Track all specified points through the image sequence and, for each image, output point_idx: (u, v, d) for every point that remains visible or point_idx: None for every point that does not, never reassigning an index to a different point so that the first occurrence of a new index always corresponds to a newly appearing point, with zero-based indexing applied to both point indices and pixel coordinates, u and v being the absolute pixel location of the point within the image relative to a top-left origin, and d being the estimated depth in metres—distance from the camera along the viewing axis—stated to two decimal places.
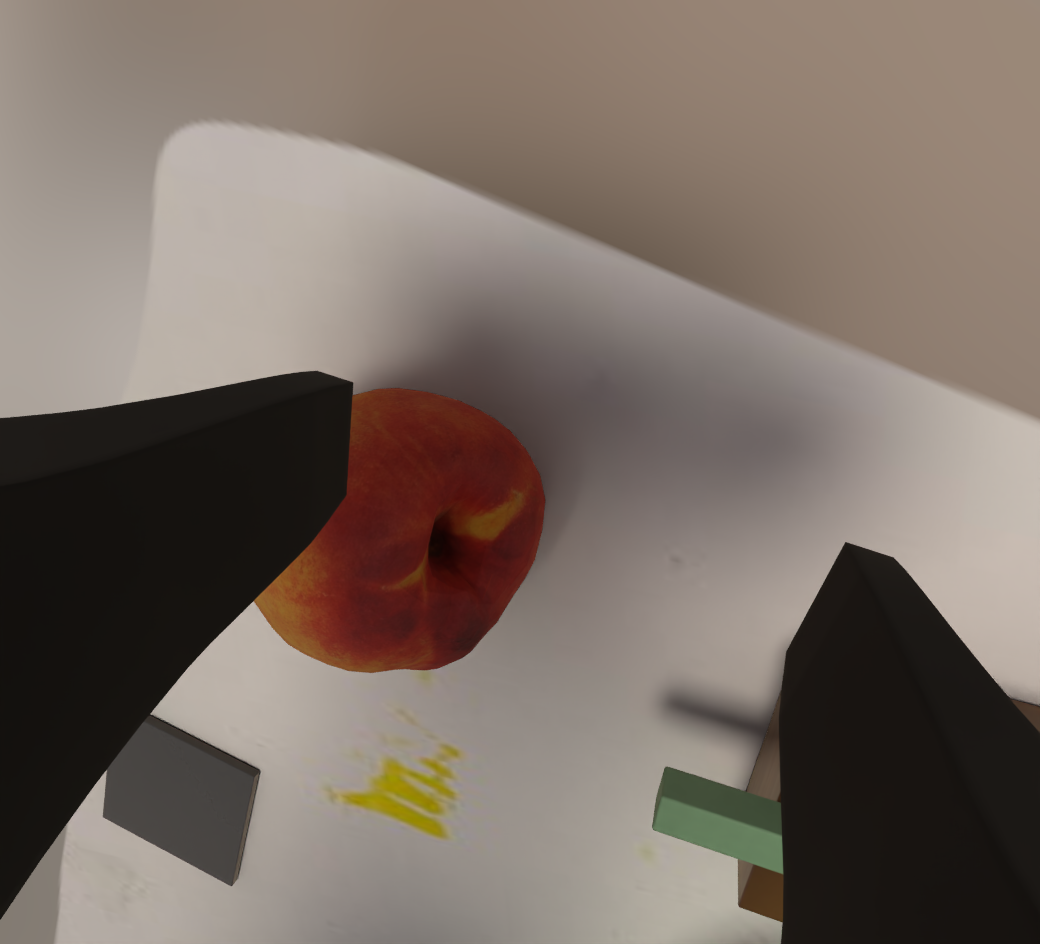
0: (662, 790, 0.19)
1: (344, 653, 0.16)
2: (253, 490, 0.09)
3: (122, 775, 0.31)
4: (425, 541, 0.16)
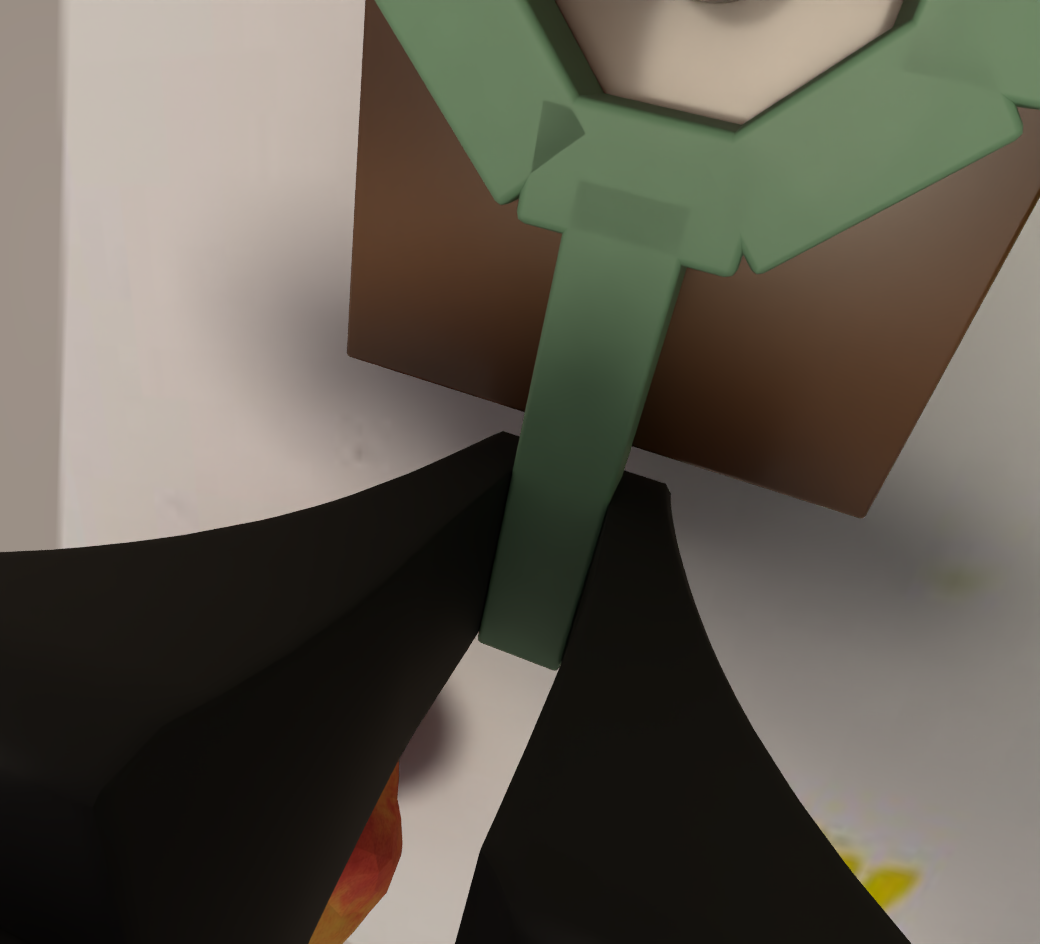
0: None
1: None
2: (470, 569, 0.08)
3: None
4: None
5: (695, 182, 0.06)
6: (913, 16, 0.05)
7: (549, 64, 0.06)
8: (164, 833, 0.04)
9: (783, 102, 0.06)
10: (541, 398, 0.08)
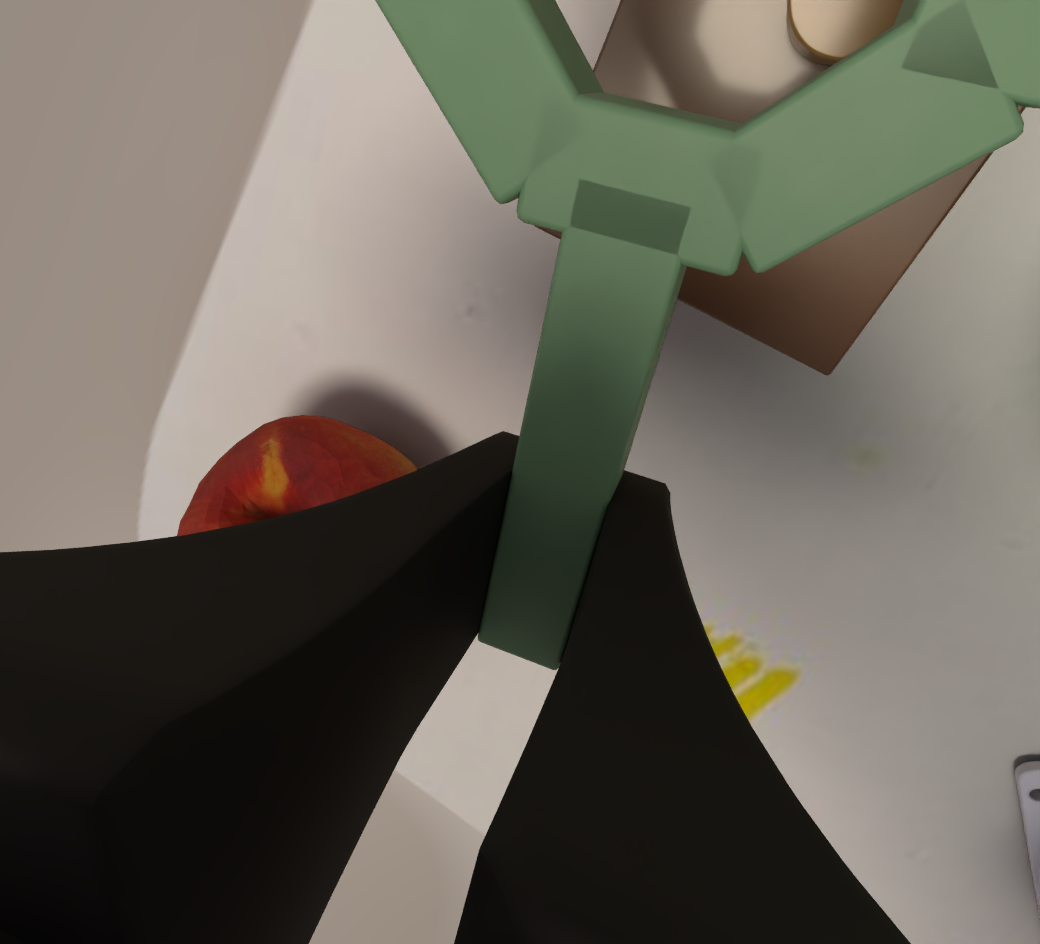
0: None
1: None
2: (471, 569, 0.08)
3: None
4: None
5: (695, 181, 0.06)
6: (913, 15, 0.05)
7: (549, 63, 0.06)
8: (166, 832, 0.04)
9: (783, 101, 0.06)
10: (542, 397, 0.08)
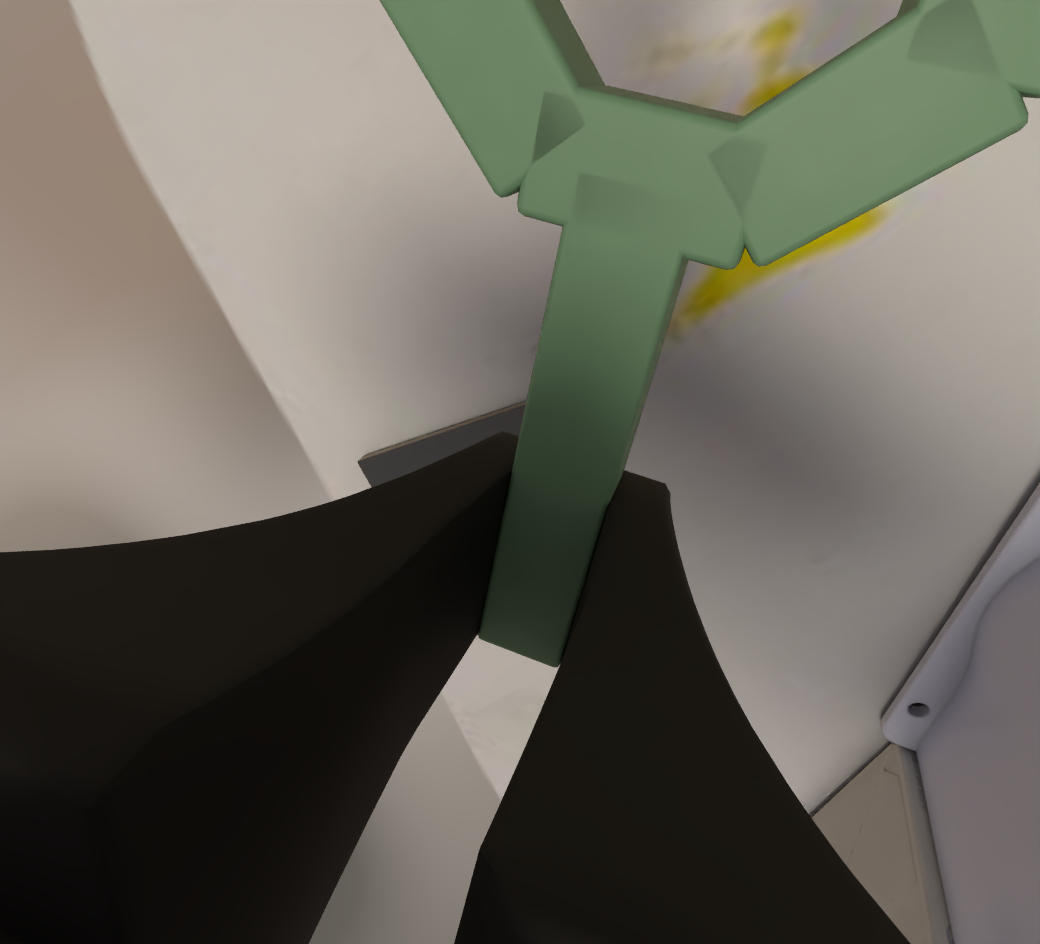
0: None
1: None
2: (471, 568, 0.08)
3: None
4: None
5: (697, 173, 0.06)
6: (917, 4, 0.05)
7: (549, 55, 0.06)
8: (166, 832, 0.04)
9: (785, 92, 0.06)
10: (542, 393, 0.08)
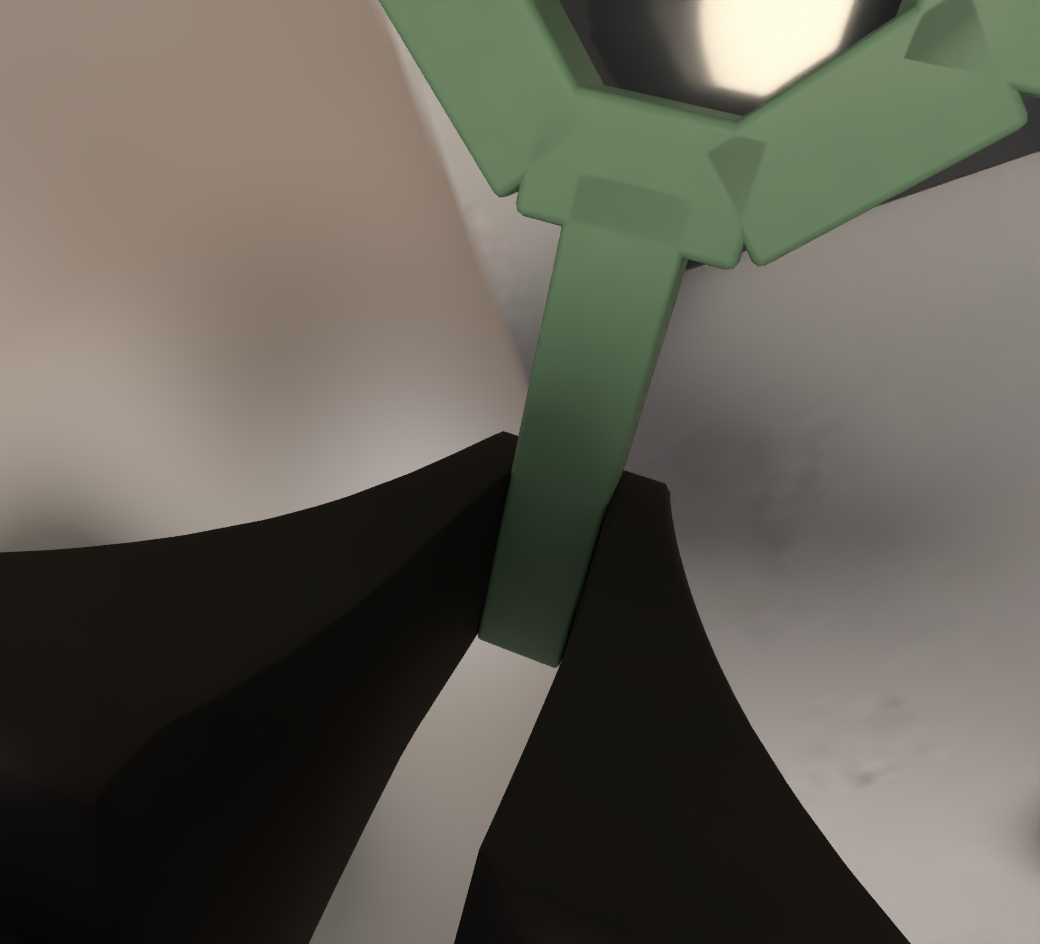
0: None
1: None
2: (471, 569, 0.08)
3: None
4: None
5: (696, 173, 0.06)
6: (916, 4, 0.05)
7: (548, 54, 0.06)
8: (165, 833, 0.04)
9: (785, 92, 0.06)
10: (541, 392, 0.08)
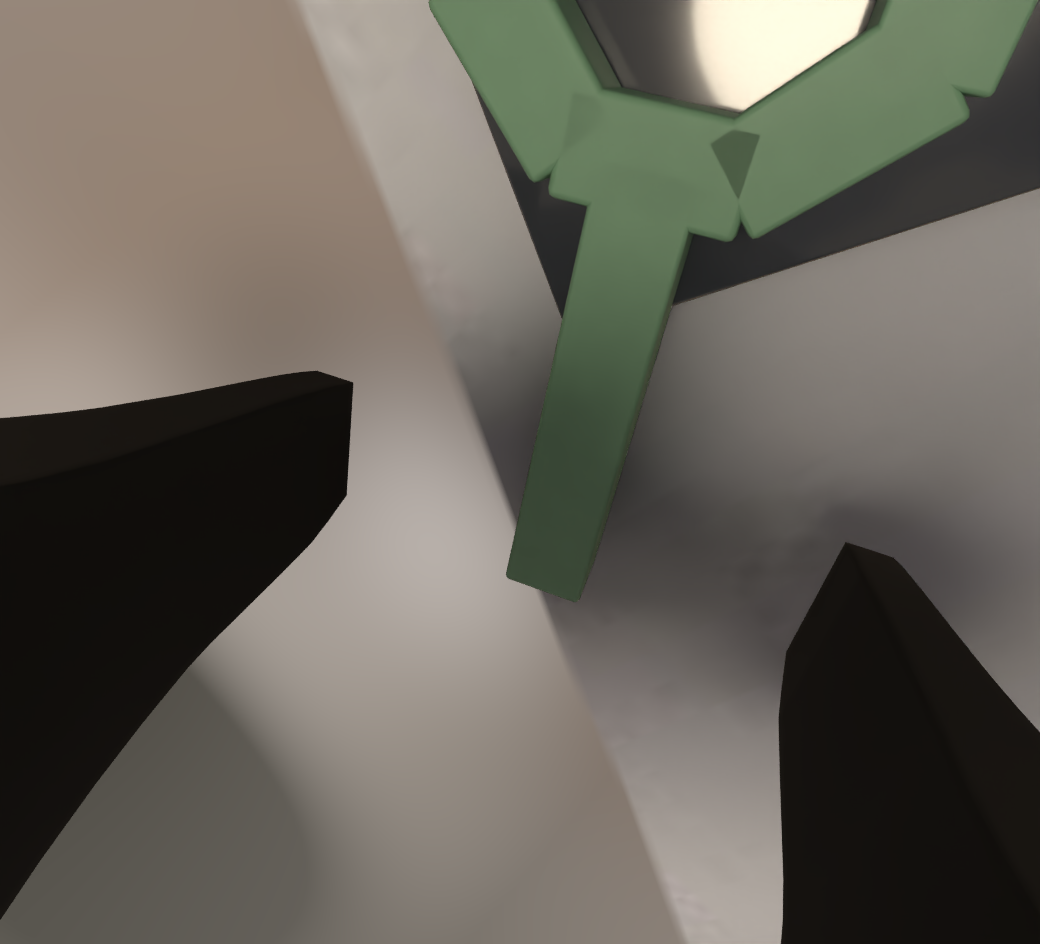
0: None
1: None
2: (252, 490, 0.09)
3: None
4: None
5: (701, 161, 0.07)
6: (878, 22, 0.07)
7: (578, 62, 0.07)
8: None
9: (774, 93, 0.07)
10: (567, 352, 0.09)
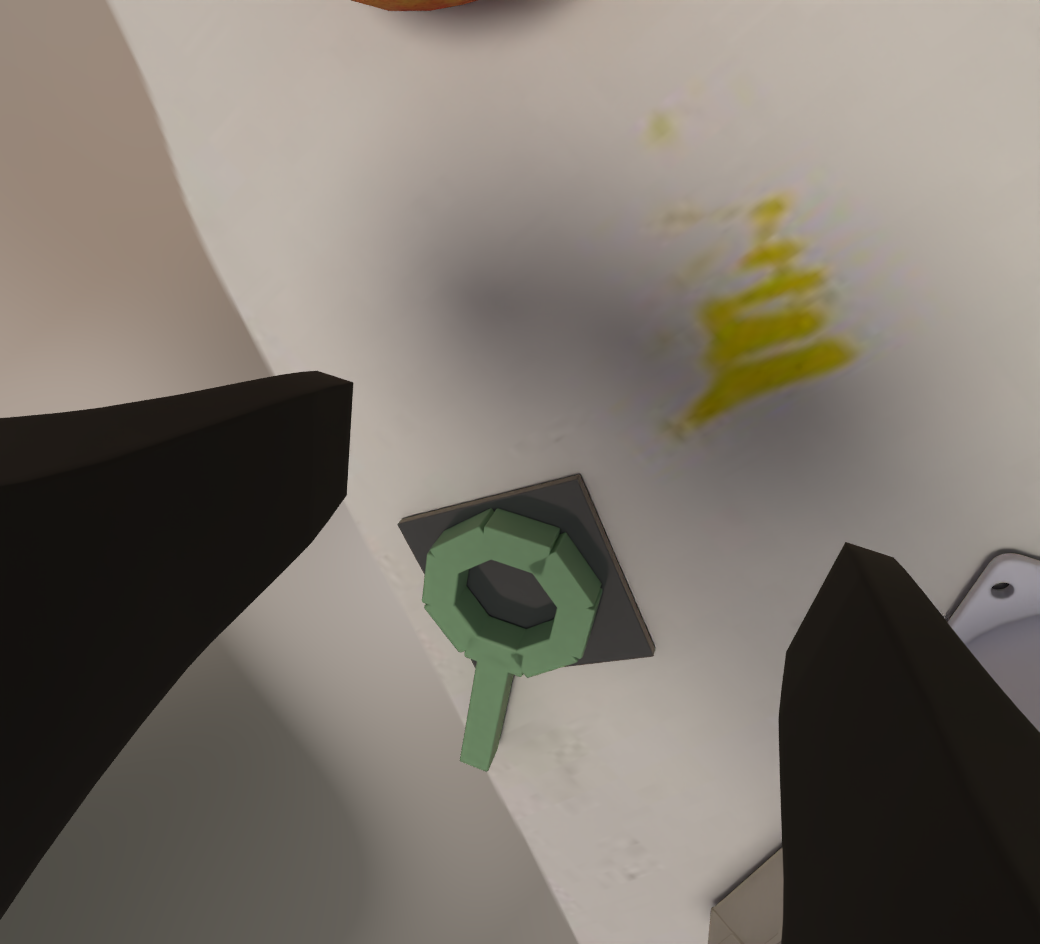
0: None
1: None
2: (252, 490, 0.09)
3: None
4: None
5: (508, 658, 0.24)
6: (549, 638, 0.23)
7: (470, 629, 0.24)
8: None
9: (526, 646, 0.24)
10: (474, 696, 0.26)
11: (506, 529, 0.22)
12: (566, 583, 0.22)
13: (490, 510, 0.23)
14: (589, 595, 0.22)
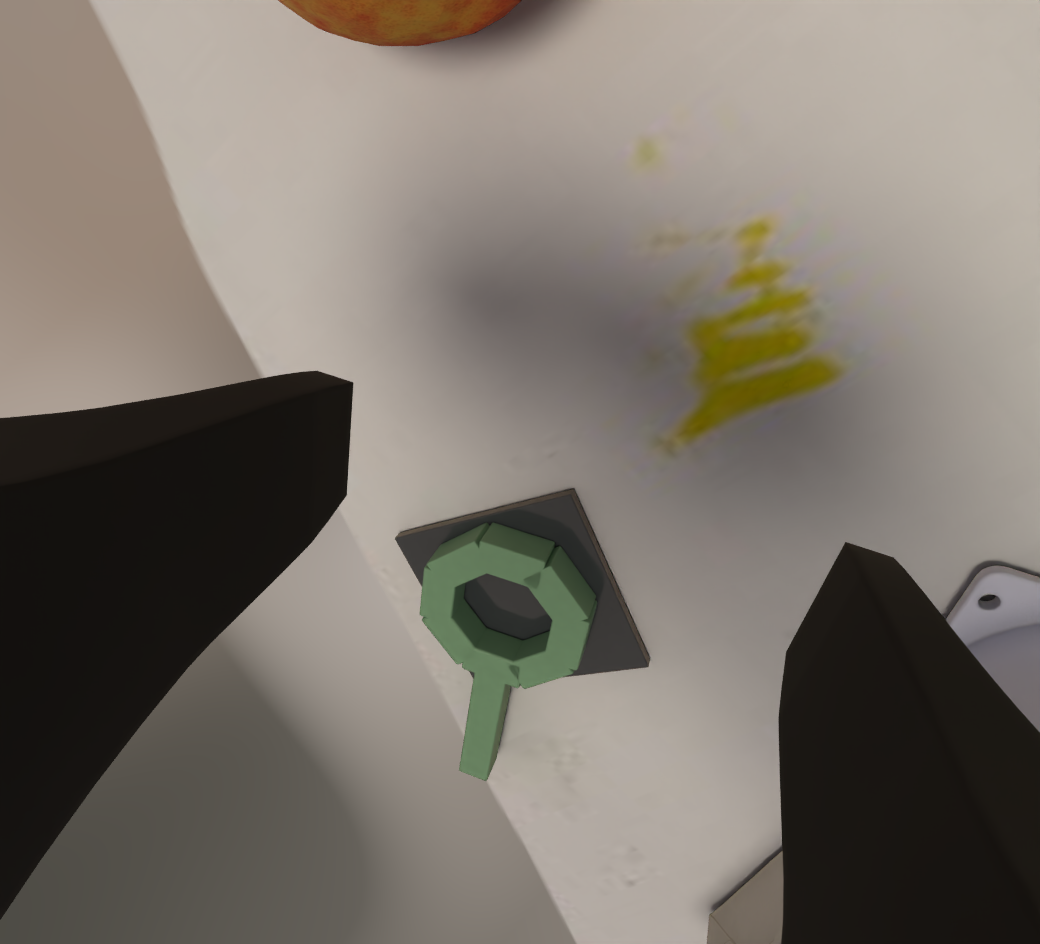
0: None
1: None
2: (254, 490, 0.09)
3: None
4: None
5: (505, 669, 0.25)
6: (545, 650, 0.24)
7: (467, 641, 0.25)
8: None
9: (522, 658, 0.24)
10: (472, 707, 0.26)
11: (501, 543, 0.22)
12: (561, 596, 0.22)
13: (486, 524, 0.23)
14: (584, 608, 0.22)
